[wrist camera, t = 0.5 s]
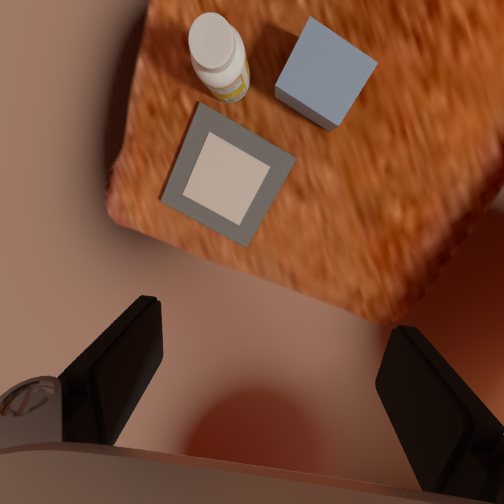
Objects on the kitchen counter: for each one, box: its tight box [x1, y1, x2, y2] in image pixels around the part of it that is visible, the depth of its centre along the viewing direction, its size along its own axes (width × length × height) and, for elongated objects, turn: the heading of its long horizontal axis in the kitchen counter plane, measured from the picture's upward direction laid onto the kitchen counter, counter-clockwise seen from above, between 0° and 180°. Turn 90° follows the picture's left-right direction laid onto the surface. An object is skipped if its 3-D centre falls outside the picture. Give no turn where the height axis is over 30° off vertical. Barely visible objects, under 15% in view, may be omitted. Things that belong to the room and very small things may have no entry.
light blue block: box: [275, 16, 378, 132], centre depth 28 cm, size 6×8×5 cm
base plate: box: [160, 102, 297, 248], centre depth 34 cm, size 14×14×1 cm
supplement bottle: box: [188, 13, 250, 103], centre depth 26 cm, size 5×5×10 cm
